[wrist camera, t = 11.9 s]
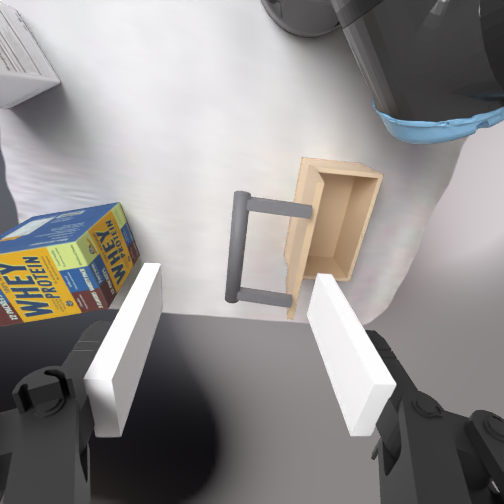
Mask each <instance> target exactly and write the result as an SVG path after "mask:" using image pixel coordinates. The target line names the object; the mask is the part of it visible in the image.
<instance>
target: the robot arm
mask: <svg viewBox="0 0 504 504" xmlns="http://www.w3.org/2000/svg"><path fill="white" fill-rule="evenodd" d="M261 1H262V3H263V5H264V7H265V9H266V11H267V12H268V14H269V15H270V16H271V18H272V19H273V20H274V21H275V22H276V23H277V24H278V25H279V26H280V27H282V28H283V29H285V30H286V31H288V32H290V33H292V34H295V35H298V36H302V37H316V36H321V35H324V34H327V33H329V32H331V31H333V30H335V29H337V28H338V27H340V26H342V30H343V32H344V34H345V37H346V39H347V41H348V43H349V46H350V48H351V50H352V53H353V55H354V57H355V59H356V62H357V64H358V66H359V69H360V71H361V73H362V75H363V78H364V80H365V82H366V85H367V87H368V89H369V91H370V94H371V96H372V98H373V99H372V103H373V107H374V109H375V111H377V113H378V115H380V116H381V118H382V120H383V122H384V124H385V126H386V128H387V130H388V132H389V133H390V134H391V135H392V136H393V137H394V138H396V139H398V140H400V141H403V142H406V143H411V144H434V143H441V142H446V141H451V140H456V139H459V138H463V137H466V136H469V135H472V134H474V133H475V132H476V130H477V129H478V128H488V127H491V126H493V125H495V124H497V123H499V122H501V121H503V120H504V0H261ZM161 311H162V282H161V264H159V263H144V265H143V267H142V269H141V271H140V272H139V274H138V276H137V278H136V280H135V282H134V284H133V286H132V288H131V289H130V291H129V293H128V295H127V297H126V299H125V301H124V303H123V305H122V307H121V308H120V310H119V312H118V314H117V316H116V318H115V320H114V321H98V320H96V321H95V322H94V323H92V324H91V325H90V326H89V327H87V329H85V330H84V332H83V333H82V335H81V336H80V338H79V340H78V342H77V343H76V344H75V346H74V347H73V349H72V351H71V352H70V354H69V355H68V357H67V358H66V360H65V362H64V363H63V365H62V366H61V367H59V366H50V367H44V368H42V369H39V370H36V371H34V372H32V373H30V374H29V375H27V376H26V377H24V378H23V379H22V380H21V381H20V382H19V383H18V384H17V385H16V387H15V389H14V391H13V393H12V396H13V398H14V401H15V404H16V406H17V408H16V409H13V410H9V411H5V412H1V413H0V501H1V499H2V496H3V494H4V492H5V495H4V500H3V504H90V458H89V456H90V452H89V446H88V441H89V438H90V436H91V433H92V431H93V428H94V429H95V434H96V437H121V434H122V431H123V428H124V425H125V422H126V419H127V416H128V413H129V410H130V407H131V404H132V401H133V398H134V395H135V391H136V388H137V385H138V382H139V379H140V376H141V373H142V370H143V367H144V364H145V361H146V358H147V354H148V351H149V348H150V345H151V342H152V339H153V336H154V333H155V329H156V327H157V324H158V321H159V318H160V314H161ZM307 317H308V320H309V322H310V325H311V328H312V330H313V333H314V336H315V339H316V342H317V344H318V347H319V350H320V353H321V356H322V358H323V361H324V364H325V366H326V369H327V372H328V375H329V378H330V380H331V383H332V386H333V389H334V391H335V394H336V397H337V400H338V402H339V405H340V408H341V411H342V414H343V416H344V419H345V422H346V425H347V427H348V430H349V433H350V435H351V436H371V434H372V432H373V430H374V428H375V426H377V429H378V431H379V433H380V436H381V438H380V440H379V441H378V443H377V445H376V447H375V449H374V451H373V452H372V457H371V458H372V459H373V460H375V458H376V456H377V454H378V459H379V478H380V497H381V504H504V419H502V418H501V417H499V416H497V415H495V414H493V413H492V412H488V411H485V410H476V411H475V412H474V413H472V415H471V416H470V418H467V417H464V416H461V415H458V414H454V413H451V412H448V411H445V410H443V408H442V407H441V406H440V404H438V402H437V401H436V400H434V399H433V398H432V397H430V396H429V395H427V394H425V393H422V392H421V391H418V390H417V388H416V387H415V385H414V383H413V382H412V380H411V379H410V377H409V376H408V374H407V373H406V371H405V370H404V368H403V367H402V365H401V364H400V362H399V360H397V358H396V356H395V354H394V353H393V351H391V348H390V347H389V345H388V344H387V342H386V341H385V339H384V338H383V337H381V336H380V335H379V334H378V333H377V332H376V331H371V330H364V328H363V327H362V325H361V323H360V322H359V320H358V318H357V317H356V315H355V313H354V312H353V310H352V308H351V306H350V305H349V303H348V301H347V300H346V298H345V296H344V295H343V293H342V291H341V290H340V288H339V286H338V284H337V283H336V281H335V279H334V278H333V276H332V274H320V273H317V277H316V281H315V285H314V288H313V292H312V296H311V300H310V304H309V308H308V312H307ZM492 481H494V482H495V484H496V486H497V487H498V490H499V491H500V493H499V492H498V491H497V490H496V489H495V487H494V486H493V484H492Z"/></svg>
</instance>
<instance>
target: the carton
mask: <svg viewBox="0 0 504 504" xmlns="http://www.w3.org/2000/svg"><path fill="white" fill-rule="evenodd" d="M308 165H314V166H315V167H316V169H317V171H318V173H319V174H320V176H321V178H322V179H323V181H324V187H323V191H322V196H321V200H320V205H319V209H318V213H317V218H316V222H315V226H314V231H313V235H312V239H311V244H310V248H309V253H308V257H307V261H306V266H305V270H304V274H303V279H312V280H316V277H317V273H320V274H332V276H333V278H334V279H335V281H346V282H350V279H351V276H352V272H353V269H354V266H355V263H356V260H357V257H358V254H359V251H360V247H361V244H362V241H363V238H364V235H365V232H366V229H367V225H368V222H369V219H370V216H371V213H372V210H373V207H374V203H375V200H376V197H377V194H378V191H379V188H380V185H381V182H382V178H383V175H384V174H382V173H380V172H378V171H376V170H373V169H371V168H369V167H367V166H365V165H363V164H360V163H351V162H342V161H333V160H324V159H315V158H305V157H302V159H301V164H300V170H299V175H298V181H297V186H296V191H295V197H294V202H293V203H300V204H301V201H302V196H303V191H304V186H305V181H306V176H307V171H308ZM297 221H298V217H291V218H290V224H289V229H288V235H287V240H286V245H285V251H284V258H285V261H286V263H287V266H288V267H289V261H290V256H291V251H292V246H293V241H294V236H295V231H296V226H297Z"/></svg>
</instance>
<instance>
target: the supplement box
mask: <svg viewBox="0 0 504 504" xmlns="http://www.w3.org/2000/svg"><path fill="white" fill-rule="evenodd" d="M60 83H61V81H60V79H59V78H58V76H57V74H56V73H55V71H54V70H53V68H52V66H51V65H50V63H49V62H48V60H47V59H46V57H45V55H44V54H43V52H42V51H41V49H40V47H39V46H38V44H37V43H36V41H35V39H34V38H33V36H32V35H31V33H30V32H29V30H28V28H27V27H26V25H25V24H24V22H23V20H22V19H21V17H20V16H19V14H18V12H17V11H16V9H15V8H13V7H10V6H8V5H6V4H4V3H1V2H0V109H8V108H11V107H14V106H16V105H18V104H20V103H22V102H24V101H26V100H28V99H30V98H32V97H34V96H36V95H38V94H40V93H42V92H44V91H46V90H48V89H50V88H52V87H54V86H56V85H58V84H60Z"/></svg>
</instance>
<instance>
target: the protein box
mask: <svg viewBox="0 0 504 504" xmlns="http://www.w3.org/2000/svg"><path fill="white" fill-rule="evenodd" d="M138 257H139V253H138V250H137V247H136V245H135V242H134V240H133V237H132V234H131V231H130V228H129V226H128V223H127V220H126V218H125V215H124V213H123V210H122V207H121V205H120V203H119V202H118V203H113V204H107V205H101V206H95V207H89V208H83V209H77V210H71V211H65V212H58V213H52V214H46V215H40V216H35V217H31V218H30V219H28V220H26V221H24V222H23V223H21V224H19V225H17V226H16V227H14V228H12V229H10V230H9V231H7V232H5V233H3V234H2V235H0V326H6V325H12V324H17V323H23V322H30V321H36V320H42V319H48V318H54V317H60V316H67V315H72V314H78V313H83V312H89V311H96V310H102V309H108V308H109V307H110V305H111V303H112V301H113V300H114V298H115V296H116V295H117V293H118V291H119V289H120V288H121V286H122V284H123V283H124V281H125V279H126V278H127V276H128V274H129V273H130V271H131V269H132V267H133V266H134V264H135V262H136V261H137V259H138Z"/></svg>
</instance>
